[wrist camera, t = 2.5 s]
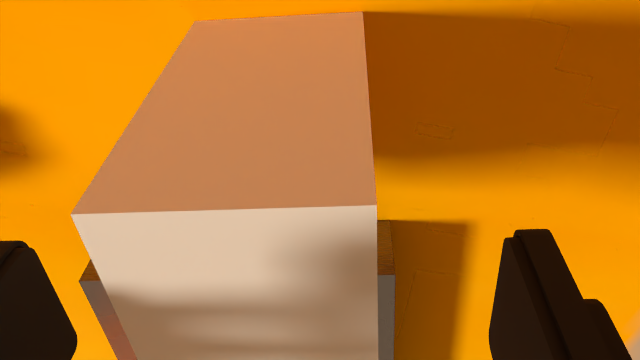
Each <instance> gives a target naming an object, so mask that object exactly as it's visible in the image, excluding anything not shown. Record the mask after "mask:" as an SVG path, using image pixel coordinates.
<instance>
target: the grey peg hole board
mask: <svg viewBox="0 0 640 360" xmlns="http://www.w3.org/2000/svg"><path fill="white" fill-rule="evenodd" d="M377 281H378V360H394V311H395V268H394V258H393V248H392V238H391V228H390V221H377ZM79 283H80V285H81V287H82V289H83V291H84V293H85V295H86V297H87V299H88V301H89V303H90V305H91V307H92V309H93V311H94V313H95V315H96V317H97V319H98V321H99V323H100V325H101V327H102V329H103V331H104V333H105V335H106V337H107V339H108V341H109V343H110V345H111V347H112V349H113V351H114V353H115V355H116V357H117V359H118V360H138V359H137V357H136V355H135V353H134V351H133V349H132V346H131V344H130V342H129V340H128V338H127V336H126V333H125V331H124V329H123V327H122V325H121V323H120V321H119V318H118V316H117V314H116V312H115V310H114V308H113V305H112V303H111V301H110V299H109V297H108V295H107V292H106V290H105V288H104V286H103V284H102V282H101V279H100V277H99V275H98V273H97V271H96V269H95V266H94V264H93V262H92V260H90V261H89V263H88V265H87V267H86V269H85V271H84V273H83V274H82V276H81V278H80V280H79Z"/></svg>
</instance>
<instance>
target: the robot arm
mask: <svg viewBox="0 0 640 360" xmlns="http://www.w3.org/2000/svg"><path fill="white" fill-rule="evenodd" d="M489 345H490V350H491V354H492V358H493V360H632V358H631V356H630V355H629V353H628V351H627V349H626V347H625V345H624V343H623V341H622V339H621V337H620V335H619V333H618V331H617V330H616V328H615V326H614V324H613V322H612V320H611V318H610V316H609V314H608V312H607V310H606V309H605V307H604V306H603V304H602V303H601V302H600V301H598V300H597V299H583V297H582V295H581V293H580V291H579V289H578V287H577V285H576V283H575V281H574V279H573V277H572V275H571V273H570V271H569V268H568V266H567V264H566V262H565V260H564V258H563V256H562V254H561V252H560V250H559V248H558V246H557V244H556V242H555V239H554V237H553V235H552V234H551V232H550V231H549V230H548V229H525V230H516V231H515V233H514V236H513V237H510V238H505V239H504V243H503V249H502V255H501V261H500V267H499V273H498V279H497V285H496V291H495V297H494V303H493V309H492V316H491V322H490V328H489ZM76 347H77V335H76V332H75V330H74V328H73V326H72V324H71V322H70V320H69V318H68V316H67V314H66V312H65V310H64V308H63V306H62V304H61V302H60V300H59V298H58V296H57V294H56V292H55V290H54V288H53V286H52V284H51V282H50V280H49V278H48V276H47V274H46V272H45V270H44V268H43V266H42V264H41V262H40V260H39V257H38V255H37V253H36V252H35V250H34V249H32V248H29V247H28V245H27V244H26V243H25V242H23V241H0V360H71V358H72V357H73V355H74V353H75V350H76Z"/></svg>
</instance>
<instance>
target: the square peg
mask: <svg viewBox="0 0 640 360" xmlns="http://www.w3.org/2000/svg"><path fill="white" fill-rule="evenodd" d="M71 217H72V219H73V221H74V223H75V225H76V227H77V230H78V232H79V234H80V236H81V238H82V240H83V243H84V245H85V247H86V249H87V251H88V253H89V256H90V258H91V260H92V262H93V264H94V266H95V269H96V271H97V273H98V275H99V277H100V279H101V282H102V284H103V286H104V288H105V290H106V292H107V295H108V297H109V299H110V301H111V303H112V305H113V308H114V310H115V312H116V314H117V316H118V318H119V321H120V323H121V325H122V327H123V329H124V331H125V333H126V336H127V338H128V340H129V342H130V344H131V346H132V349H133V351H134V353H135V355H136V357H137V359H138V360H378V281H377V202H376V188H375V175H374V161H373V147H372V133H371V119H370V105H369V91H368V77H367V64H366V50H365V36H364V22H363V12H347V13H329V14H312V15H294V16H277V17H259V18H242V19H224V20H207V21H195V22H194V23H193V25H192V27H191V28H190V30H189V31H188V33H187V34H186V36H185V37H184V39H183V41H182V42H181V44H180V45H179V47H178V48H177V50H176V51H175V53H174V54H173V56H172V58H171V59H170V61H169V62H168V64H167V65H166V67H165V68H164V70H163V72H162V73H161V75H160V76H159V78H158V79H157V81H156V82H155V84H154V86H153V87H152V89H151V90H150V92H149V93H148V95H147V96H146V98H145V100H144V101H143V103H142V104H141V106H140V107H139V109H138V110H137V112H136V114H135V115H134V117H133V118H132V120H131V121H130V123H129V124H128V126H127V127H126V129H125V131H124V132H123V134H122V135H121V137H120V138H119V140H118V141H117V143H116V145H115V146H114V148H113V149H112V151H111V152H110V154H109V155H108V157H107V159H106V160H105V162H104V163H103V165H102V166H101V168H100V169H99V171H98V173H97V174H96V176H95V177H94V179H93V180H92V182H91V183H90V185H89V186H88V188H87V190H86V191H85V193H84V194H83V196H82V197H81V199H80V200H79V202H78V204H77V205H76V207H75V208H74V210H73V211H72V213H71Z"/></svg>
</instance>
